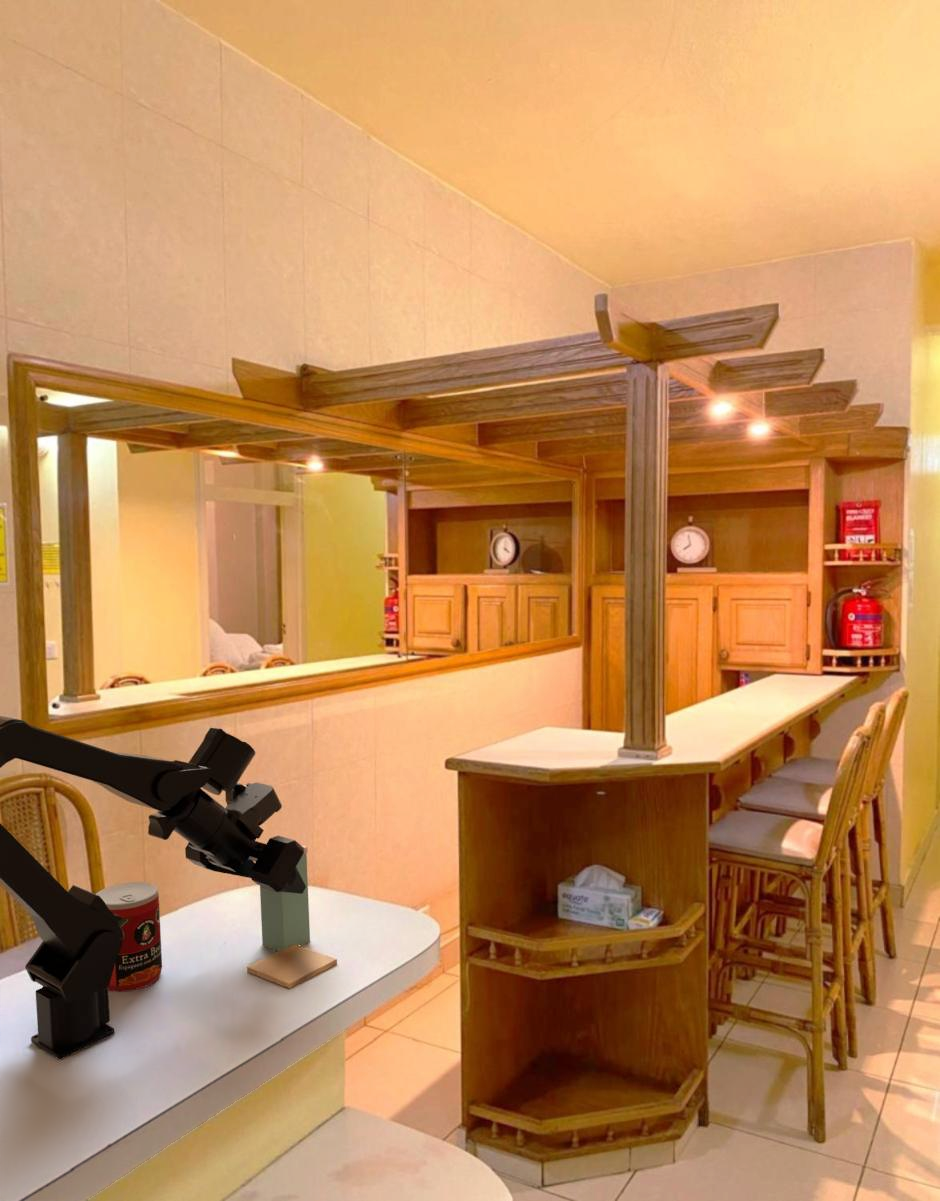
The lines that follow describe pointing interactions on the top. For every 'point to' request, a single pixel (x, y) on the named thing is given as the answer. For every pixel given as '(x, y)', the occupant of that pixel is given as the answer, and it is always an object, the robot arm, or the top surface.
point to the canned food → (135, 934)
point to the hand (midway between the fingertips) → (281, 882)
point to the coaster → (291, 965)
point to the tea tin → (286, 914)
